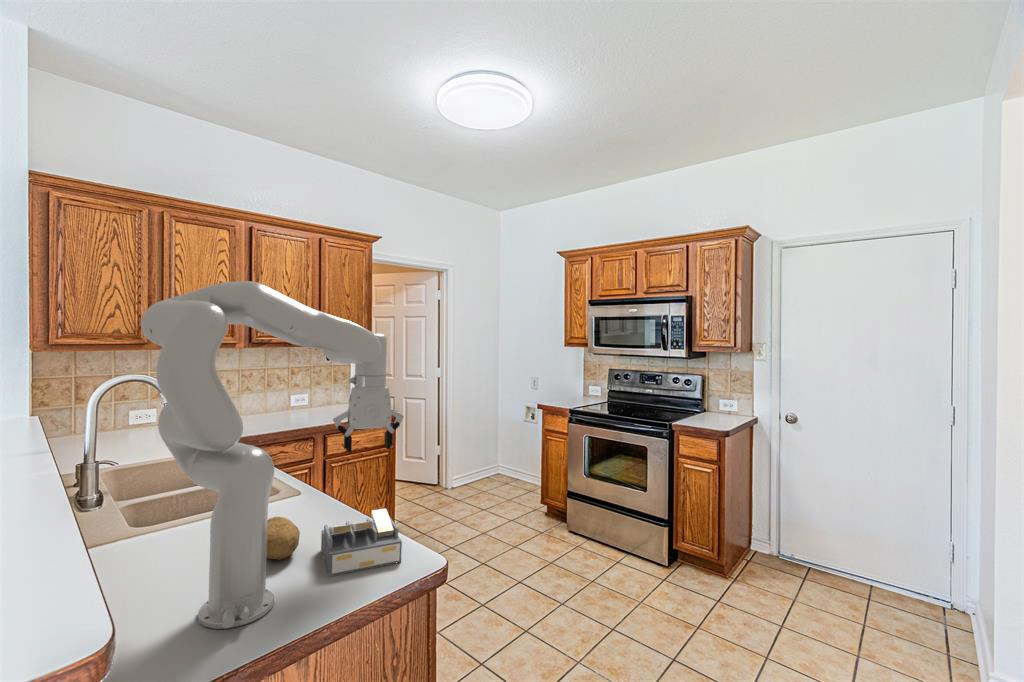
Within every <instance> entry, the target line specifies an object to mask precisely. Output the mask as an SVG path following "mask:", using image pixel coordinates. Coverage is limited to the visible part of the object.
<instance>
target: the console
mask: <svg viewBox="0 0 1024 682" xmlns="http://www.w3.org/2000/svg"><path fill="white" fill-rule="evenodd" d="M389 518H390V521H391V524H392V527H393V529H394V532H393V535H390V536H384V537H377V530H376V529H375V526H374V523H373V528H368V529H362V530H352V528H351V531H349V532H343V533H337V534H330V531H329V526H328V525H327V524H324V525H323V529H322V530H321V543H320V545H321V546H320V551H322V552H321V555H322V554H323V555H322V557H324V558H323V561H324V564H325V568H326V570H328V571H327V574H328V573H329V574H328V577H333V576H339V574H340V575H344V574H348V573H349V572H350V573H353V572H354V571H355V572H359V570H360V571H364V570H363V569H365V570H369V569H368V568H370V569H374V568H373V567H375V568H378V567H377V566H380V567H384V566H383V565H385V566H388V565H387V564H390V565H393V564H392V563H395V564H397V563H396V562H400V563H402V552H403V551H402V550H403V549H402V546H403V544H402V543H403V541H402V539H401V538H400V537H399V527H398V525H397V524H396V523H395V521H393V519H392V518H391V516H390V515H389ZM369 521H371V520H370V518H366V521H365V522H369ZM350 524H351V523H350V522H349V521H345V525H350ZM381 565H382V566H381ZM355 572H354V573H355Z"/></svg>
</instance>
